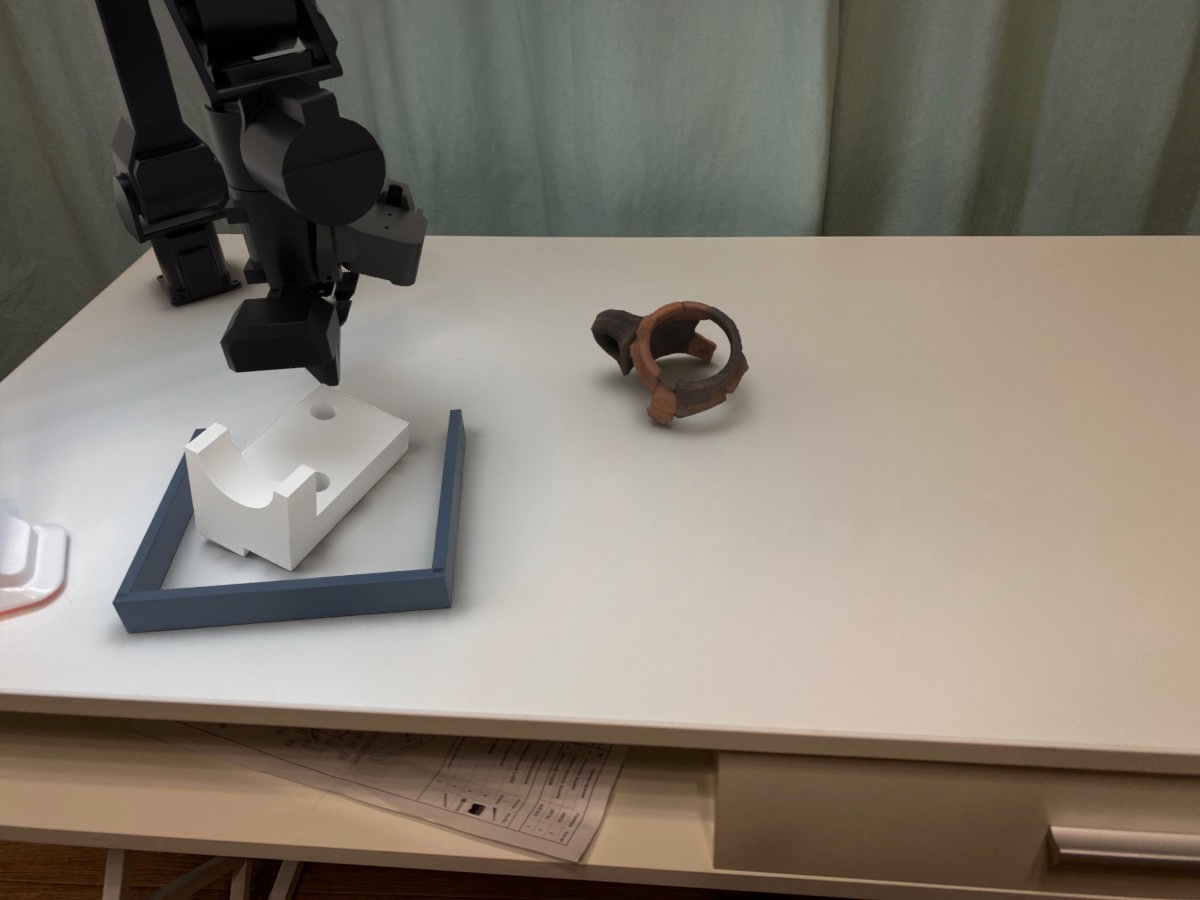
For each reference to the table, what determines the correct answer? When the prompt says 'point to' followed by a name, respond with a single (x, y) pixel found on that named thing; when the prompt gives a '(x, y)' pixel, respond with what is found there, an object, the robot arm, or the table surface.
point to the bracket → (291, 475)
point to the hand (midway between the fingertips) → (332, 384)
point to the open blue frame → (284, 598)
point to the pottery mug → (665, 335)
